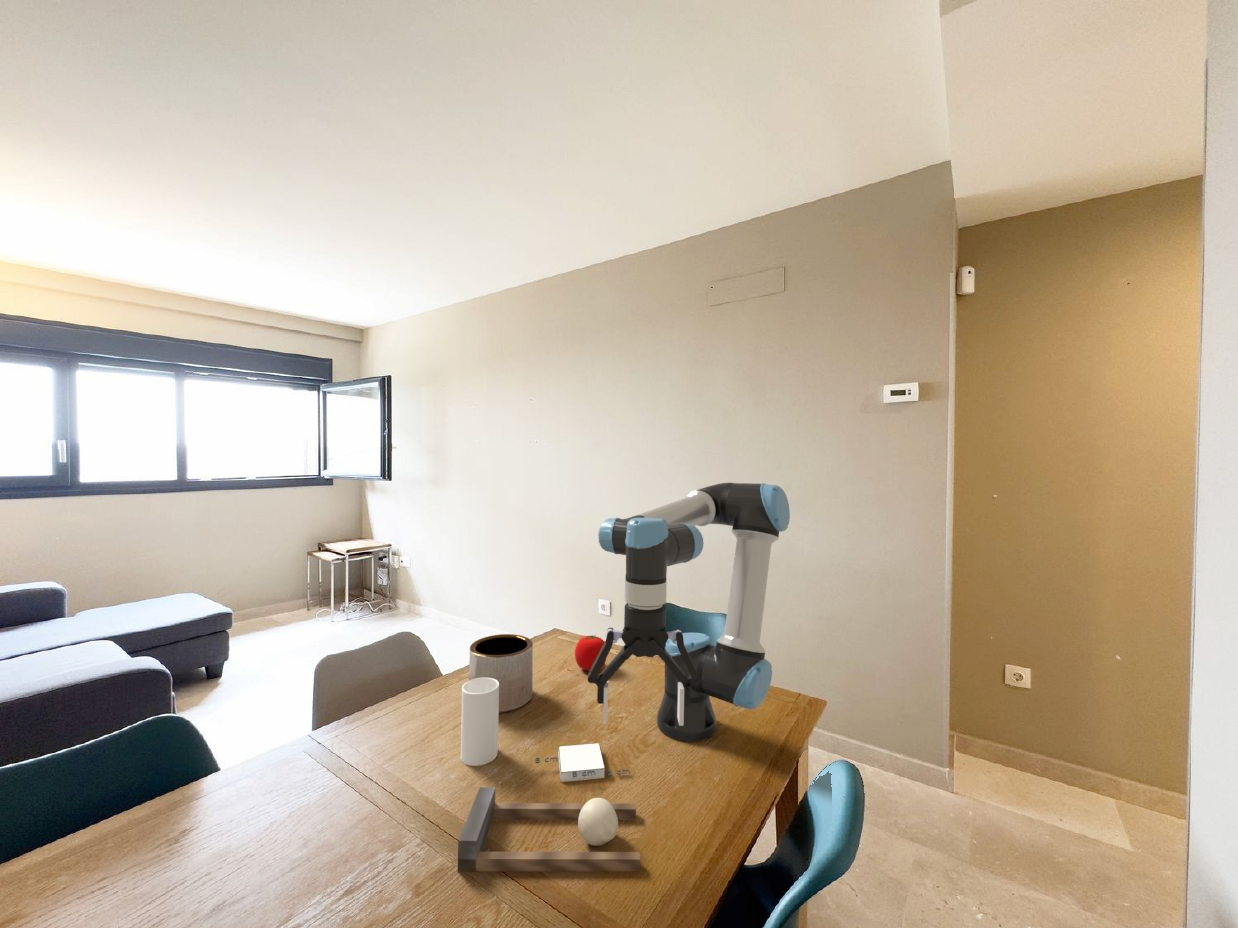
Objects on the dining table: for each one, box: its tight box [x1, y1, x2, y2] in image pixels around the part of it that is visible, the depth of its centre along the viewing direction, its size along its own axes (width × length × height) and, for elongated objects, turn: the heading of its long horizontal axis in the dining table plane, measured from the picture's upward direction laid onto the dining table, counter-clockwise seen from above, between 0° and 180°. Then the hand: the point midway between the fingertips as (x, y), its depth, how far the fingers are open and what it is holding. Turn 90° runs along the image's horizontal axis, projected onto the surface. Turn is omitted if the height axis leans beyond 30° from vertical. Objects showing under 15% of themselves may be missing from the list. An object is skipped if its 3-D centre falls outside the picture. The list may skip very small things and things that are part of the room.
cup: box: [460, 678, 500, 767], centre depth 110 cm, size 8×8×16 cm
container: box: [534, 742, 631, 783], centre depth 105 cm, size 20×11×3 cm, turn 100°
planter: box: [468, 633, 534, 714], centre depth 136 cm, size 18×18×16 cm
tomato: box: [574, 634, 607, 672], centre depth 157 cm, size 10×11×11 cm
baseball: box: [577, 797, 619, 847], centre depth 85 cm, size 7×7×7 cm
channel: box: [457, 786, 641, 872], centre depth 85 cm, size 30×13×5 cm, turn 91°
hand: (642, 721), depth 86 cm, fingers open, 13 cm apart
